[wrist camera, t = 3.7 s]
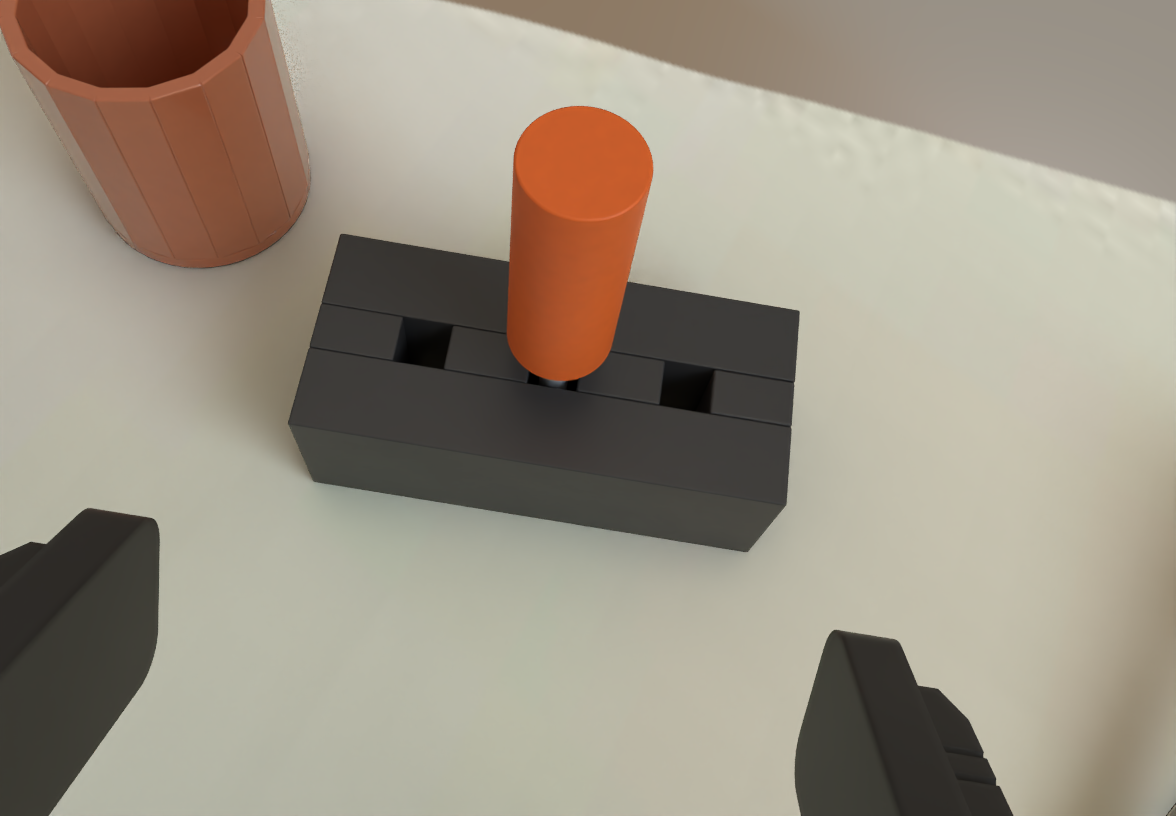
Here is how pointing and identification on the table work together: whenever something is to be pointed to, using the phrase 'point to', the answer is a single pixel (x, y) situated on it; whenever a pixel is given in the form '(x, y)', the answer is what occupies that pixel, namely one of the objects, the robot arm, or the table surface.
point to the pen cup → (171, 118)
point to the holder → (547, 402)
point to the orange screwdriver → (573, 238)
